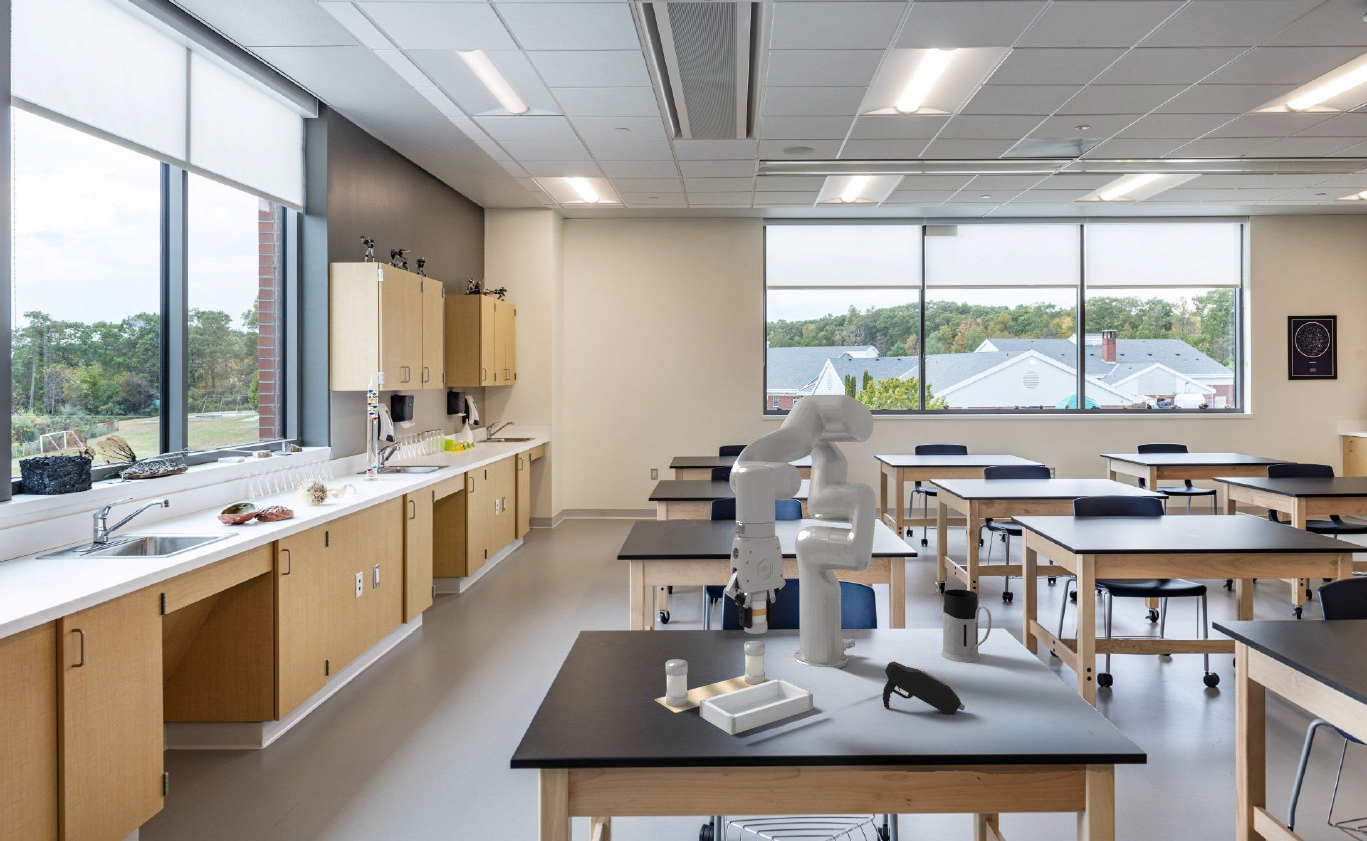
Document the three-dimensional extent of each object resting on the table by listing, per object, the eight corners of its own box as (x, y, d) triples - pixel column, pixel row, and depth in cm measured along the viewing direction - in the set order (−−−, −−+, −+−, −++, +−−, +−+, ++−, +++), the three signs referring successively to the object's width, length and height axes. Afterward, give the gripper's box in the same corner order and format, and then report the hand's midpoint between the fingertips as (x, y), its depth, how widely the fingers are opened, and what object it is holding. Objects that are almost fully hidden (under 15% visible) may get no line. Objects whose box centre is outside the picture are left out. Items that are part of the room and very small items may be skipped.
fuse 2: (756, 676, 171) (756, 639, 170) (769, 682, 167) (769, 645, 167) (740, 680, 168) (740, 643, 168) (753, 686, 165) (753, 649, 164)
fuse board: (754, 677, 173) (754, 672, 173) (777, 688, 166) (777, 683, 166) (653, 704, 158) (653, 699, 158) (675, 717, 152) (675, 712, 152)
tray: (779, 697, 161) (779, 678, 161) (813, 714, 153) (812, 693, 153) (699, 721, 150) (699, 700, 150) (731, 740, 142) (731, 718, 141)
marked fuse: (772, 631, 150) (771, 589, 150) (754, 635, 148) (753, 593, 147) (757, 625, 154) (757, 585, 153) (739, 629, 151) (739, 588, 151)
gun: (946, 743, 152) (971, 699, 151) (870, 700, 154) (894, 657, 153) (944, 736, 155) (969, 694, 154) (869, 695, 157) (893, 652, 156)
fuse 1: (680, 696, 160) (679, 657, 159) (692, 703, 156) (691, 664, 156) (661, 701, 157) (661, 662, 157) (673, 708, 153) (673, 668, 153)
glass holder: (962, 648, 191) (962, 587, 190) (1005, 667, 178) (1005, 601, 177) (933, 652, 188) (933, 590, 187) (974, 672, 174) (974, 605, 174)
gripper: (732, 537, 142) (732, 637, 143) (801, 528, 152) (801, 622, 152) (708, 531, 148) (709, 627, 149) (776, 523, 158) (776, 613, 158)
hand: (755, 623), depth 150 cm, fingers closed on marked fuse, 4 cm apart
